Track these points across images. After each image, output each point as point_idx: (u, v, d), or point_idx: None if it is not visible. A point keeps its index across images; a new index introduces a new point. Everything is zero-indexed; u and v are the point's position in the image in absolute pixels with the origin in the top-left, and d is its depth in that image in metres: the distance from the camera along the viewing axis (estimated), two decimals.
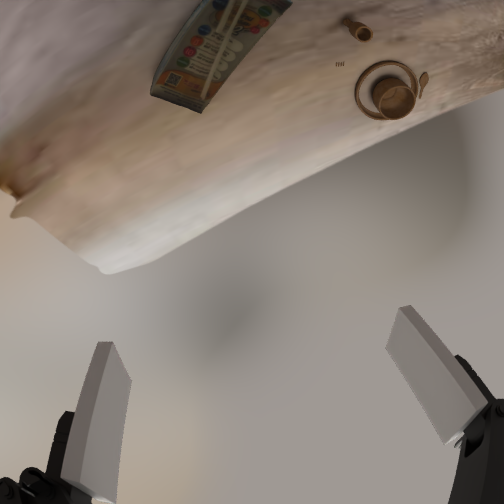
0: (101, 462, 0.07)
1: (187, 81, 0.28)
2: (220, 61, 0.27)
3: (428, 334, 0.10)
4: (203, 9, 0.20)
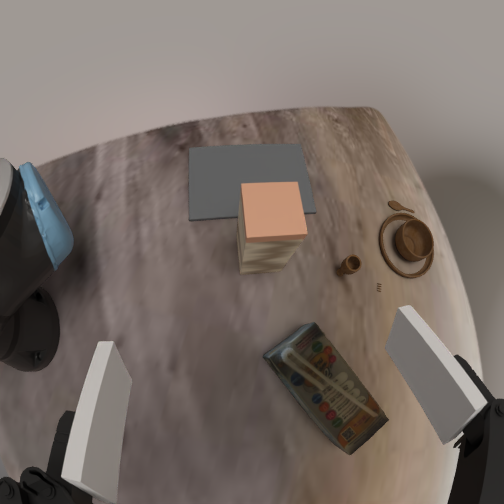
0: (102, 462, 0.07)
1: (356, 423, 0.30)
2: (351, 393, 0.32)
3: (427, 334, 0.10)
4: (297, 393, 0.31)
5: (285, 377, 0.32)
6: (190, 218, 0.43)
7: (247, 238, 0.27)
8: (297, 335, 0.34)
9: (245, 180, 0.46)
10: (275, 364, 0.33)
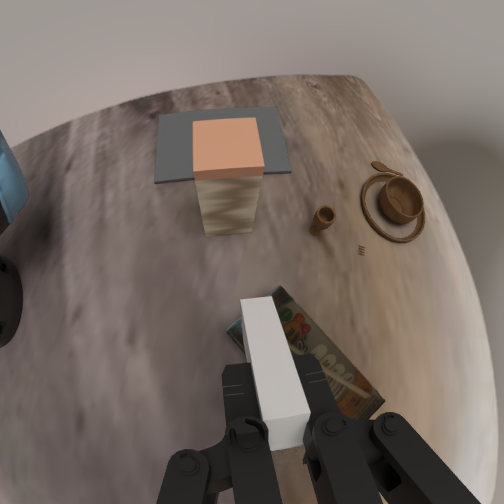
0: None
1: (344, 407, 0.26)
2: (333, 370, 0.27)
3: (272, 326, 0.11)
4: None
5: None
6: (155, 180, 0.39)
7: (194, 172, 0.23)
8: None
9: None
10: (235, 337, 0.28)
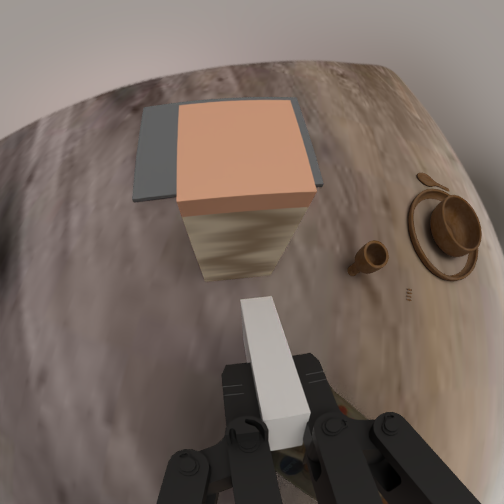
0: None
1: None
2: None
3: (272, 326, 0.11)
4: (294, 484, 0.15)
5: None
6: (134, 197, 0.27)
7: (179, 204, 0.12)
8: None
9: None
10: None
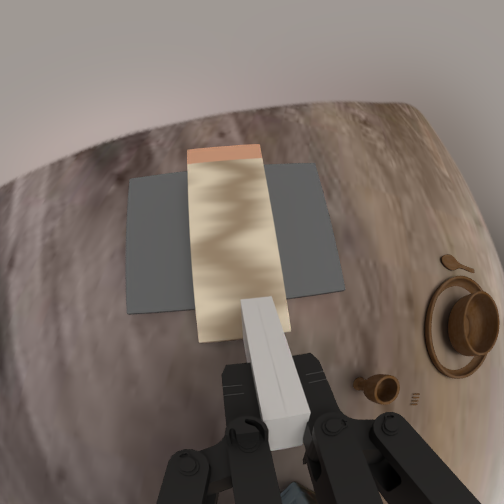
0: None
1: None
2: None
3: (272, 326, 0.11)
4: None
5: None
6: (128, 311, 0.23)
7: (188, 152, 0.22)
8: None
9: None
10: None
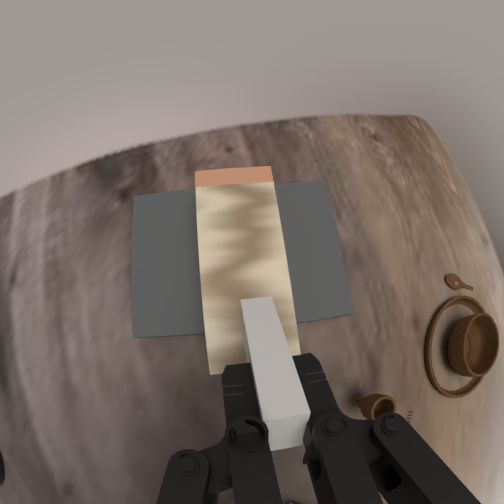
0: None
1: None
2: None
3: (272, 326, 0.11)
4: None
5: None
6: (135, 335, 0.23)
7: (196, 174, 0.22)
8: None
9: None
10: None
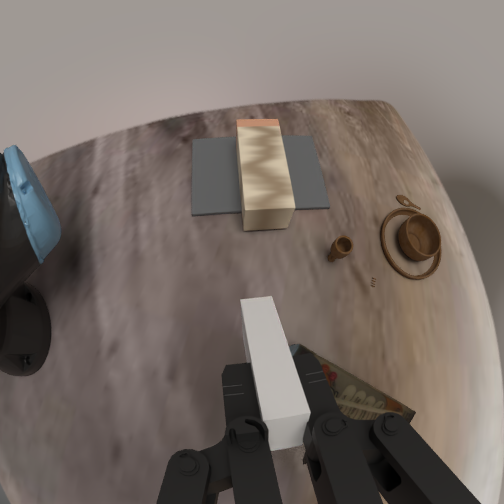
0: None
1: None
2: (365, 403, 0.27)
3: (272, 326, 0.12)
4: None
5: None
6: (193, 213, 0.39)
7: (237, 121, 0.38)
8: None
9: None
10: None
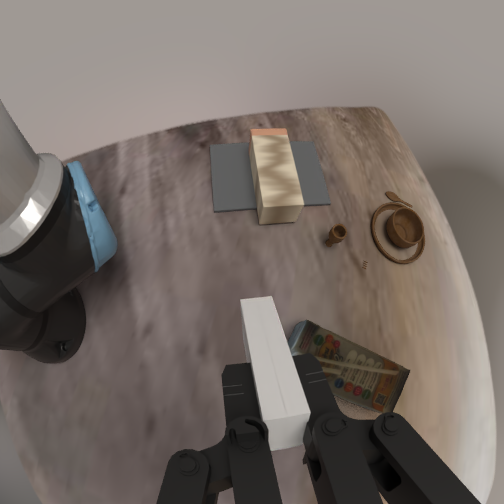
0: None
1: (383, 387, 0.33)
2: (366, 365, 0.35)
3: (272, 326, 0.11)
4: None
5: None
6: (215, 209, 0.46)
7: (251, 130, 0.45)
8: (296, 338, 0.36)
9: None
10: None
